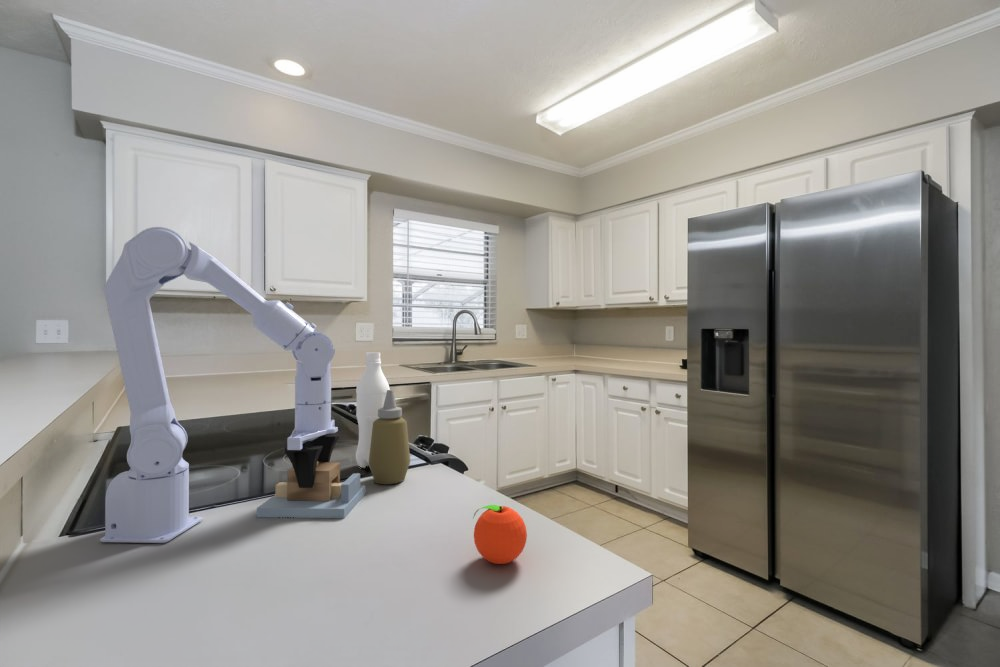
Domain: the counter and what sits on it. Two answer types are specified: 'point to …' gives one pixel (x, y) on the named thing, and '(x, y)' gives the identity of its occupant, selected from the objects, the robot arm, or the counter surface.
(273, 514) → the cleat board
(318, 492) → the cabinet block
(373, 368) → the water bottle
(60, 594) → the counter surface
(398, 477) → the squeeze bottle
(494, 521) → the clementine
